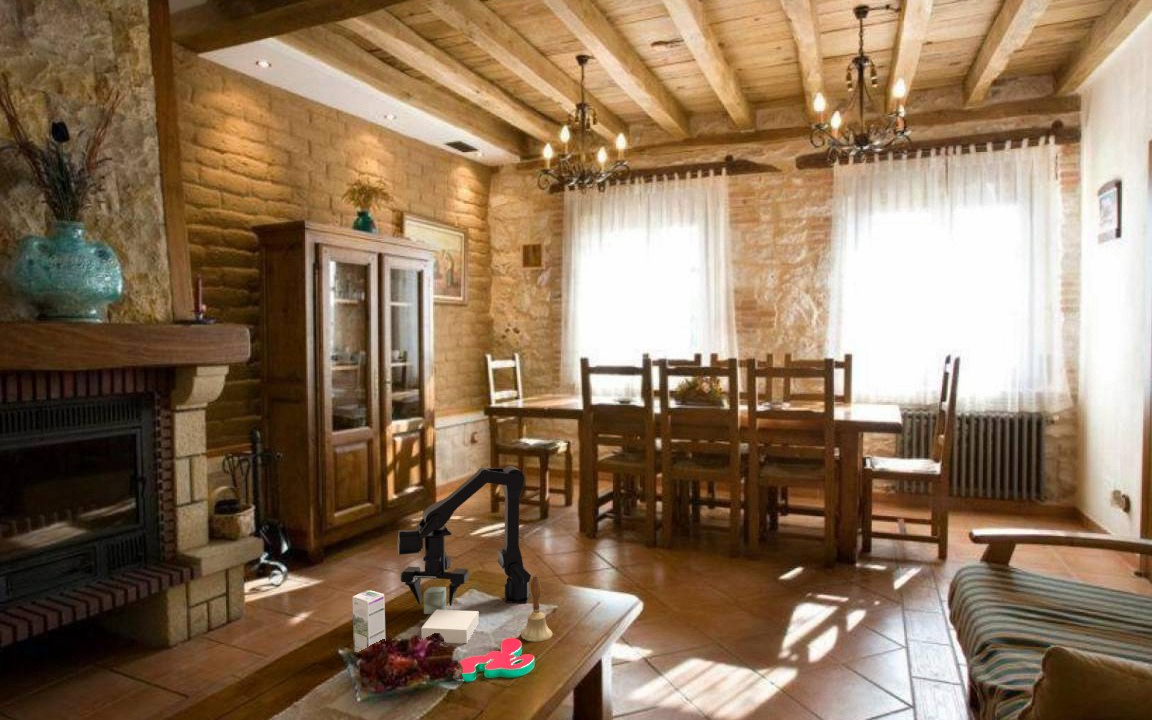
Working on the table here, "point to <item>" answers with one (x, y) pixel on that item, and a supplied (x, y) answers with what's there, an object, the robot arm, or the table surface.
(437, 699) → the table surface
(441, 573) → the robot arm
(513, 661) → the squiggly shape
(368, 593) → the syrup box
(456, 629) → the cream block
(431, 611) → the green block
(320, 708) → the table surface
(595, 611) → the table surface
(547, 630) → the hand bell
